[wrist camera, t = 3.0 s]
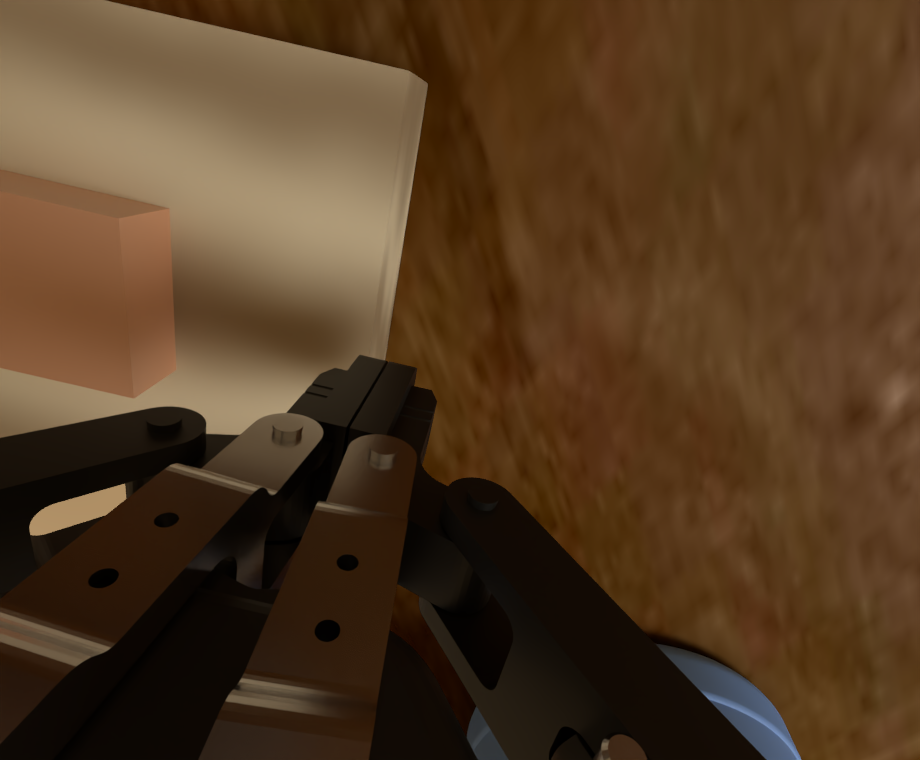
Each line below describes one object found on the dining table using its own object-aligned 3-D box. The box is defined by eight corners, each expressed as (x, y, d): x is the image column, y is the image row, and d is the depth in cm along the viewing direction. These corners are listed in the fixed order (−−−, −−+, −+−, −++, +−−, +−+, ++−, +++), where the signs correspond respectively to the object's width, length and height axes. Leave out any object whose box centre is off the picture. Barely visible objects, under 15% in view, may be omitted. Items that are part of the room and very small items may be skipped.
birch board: (-180, -58, 15) (-337, -103, 12) (427, 83, 15) (408, 70, 12) (-63, 371, 21) (-150, 406, 18) (367, 470, 21) (345, 520, 18)
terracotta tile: (-9, 167, 14) (-86, 171, 12) (169, 208, 14) (118, 218, 12) (22, 334, 16) (-40, 358, 14) (176, 369, 16) (134, 398, 14)
